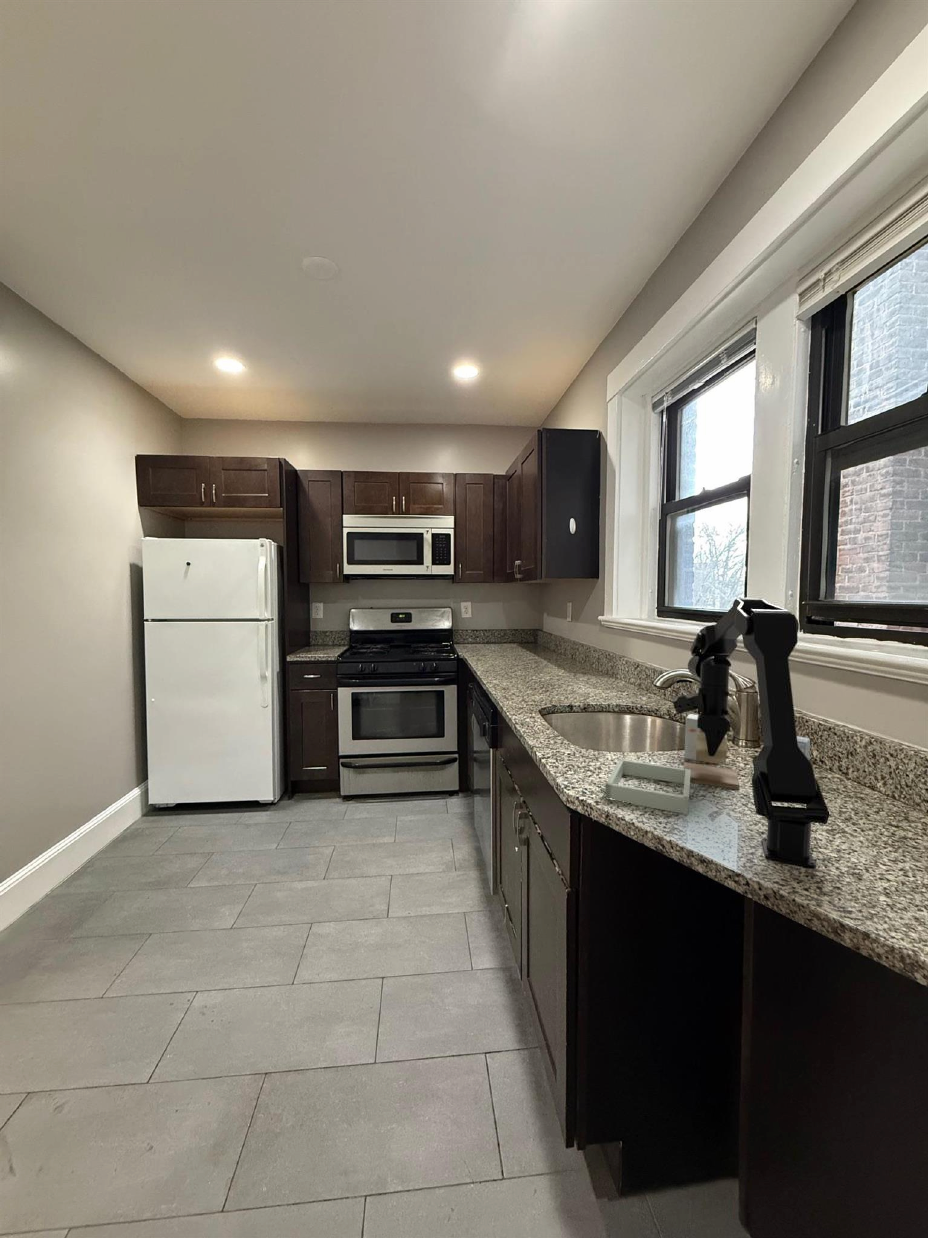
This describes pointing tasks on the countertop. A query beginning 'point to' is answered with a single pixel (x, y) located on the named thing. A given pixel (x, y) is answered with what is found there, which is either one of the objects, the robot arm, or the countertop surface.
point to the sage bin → (649, 796)
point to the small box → (691, 736)
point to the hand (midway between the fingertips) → (711, 753)
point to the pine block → (703, 751)
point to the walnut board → (713, 775)
